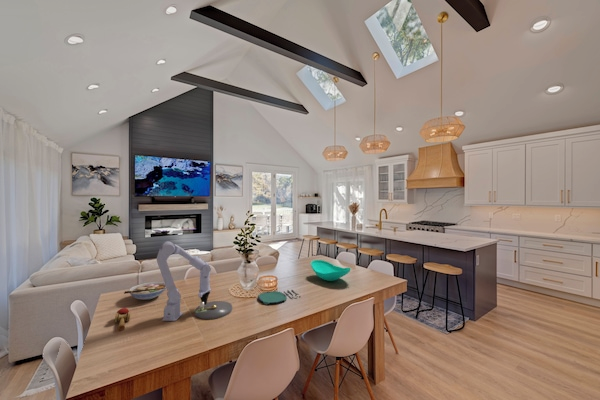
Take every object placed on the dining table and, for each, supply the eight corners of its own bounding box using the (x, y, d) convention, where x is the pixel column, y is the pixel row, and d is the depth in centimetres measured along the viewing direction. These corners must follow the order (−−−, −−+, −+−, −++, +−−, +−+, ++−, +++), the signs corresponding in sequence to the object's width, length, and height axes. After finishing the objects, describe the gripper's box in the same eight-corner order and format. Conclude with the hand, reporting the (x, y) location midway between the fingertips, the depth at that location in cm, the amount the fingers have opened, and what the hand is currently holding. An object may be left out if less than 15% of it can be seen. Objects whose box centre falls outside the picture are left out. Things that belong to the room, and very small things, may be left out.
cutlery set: (254, 296, 177) (254, 293, 177) (291, 290, 191) (292, 287, 191) (263, 307, 159) (263, 304, 159) (304, 300, 173) (304, 297, 173)
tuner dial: (226, 319, 142) (226, 316, 142) (188, 319, 141) (188, 316, 141) (235, 303, 164) (235, 301, 164) (202, 303, 163) (202, 300, 163)
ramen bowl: (170, 290, 185) (170, 279, 185) (167, 302, 164) (167, 289, 164) (131, 294, 175) (131, 282, 175) (122, 307, 154) (122, 294, 154)
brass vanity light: (216, 306, 155) (216, 298, 155) (217, 308, 152) (217, 300, 152) (197, 309, 149) (197, 302, 149) (197, 312, 147) (198, 304, 147)
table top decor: (302, 277, 221) (303, 262, 221) (323, 271, 240) (323, 258, 240) (337, 290, 192) (337, 273, 192) (357, 282, 211) (358, 267, 211)
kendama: (132, 330, 131) (132, 312, 146) (129, 320, 129) (130, 303, 144) (114, 337, 127) (116, 318, 142) (111, 326, 125) (113, 308, 140)
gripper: (206, 286, 146) (206, 309, 146) (215, 278, 161) (214, 299, 161) (194, 286, 146) (194, 309, 146) (204, 278, 161) (203, 299, 161)
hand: (204, 304), depth 154 cm, fingers closed
